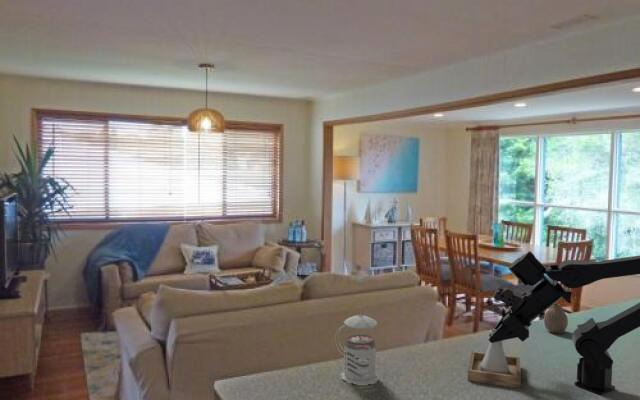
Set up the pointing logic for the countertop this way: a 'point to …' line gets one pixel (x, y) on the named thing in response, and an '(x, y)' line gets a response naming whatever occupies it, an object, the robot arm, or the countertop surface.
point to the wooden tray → (495, 378)
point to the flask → (495, 358)
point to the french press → (361, 369)
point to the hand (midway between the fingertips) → (490, 339)
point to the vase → (555, 319)
